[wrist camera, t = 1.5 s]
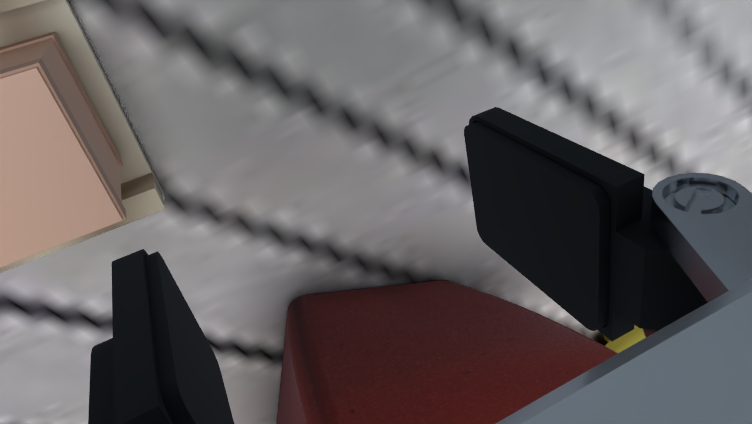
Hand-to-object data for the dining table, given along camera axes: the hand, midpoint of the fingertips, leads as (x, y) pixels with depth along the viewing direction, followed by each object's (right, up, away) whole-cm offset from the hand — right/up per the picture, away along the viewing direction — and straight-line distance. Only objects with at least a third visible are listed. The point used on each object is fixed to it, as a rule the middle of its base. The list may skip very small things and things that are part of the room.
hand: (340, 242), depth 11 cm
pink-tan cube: (-15, +4, +13) cm, 21 cm away
